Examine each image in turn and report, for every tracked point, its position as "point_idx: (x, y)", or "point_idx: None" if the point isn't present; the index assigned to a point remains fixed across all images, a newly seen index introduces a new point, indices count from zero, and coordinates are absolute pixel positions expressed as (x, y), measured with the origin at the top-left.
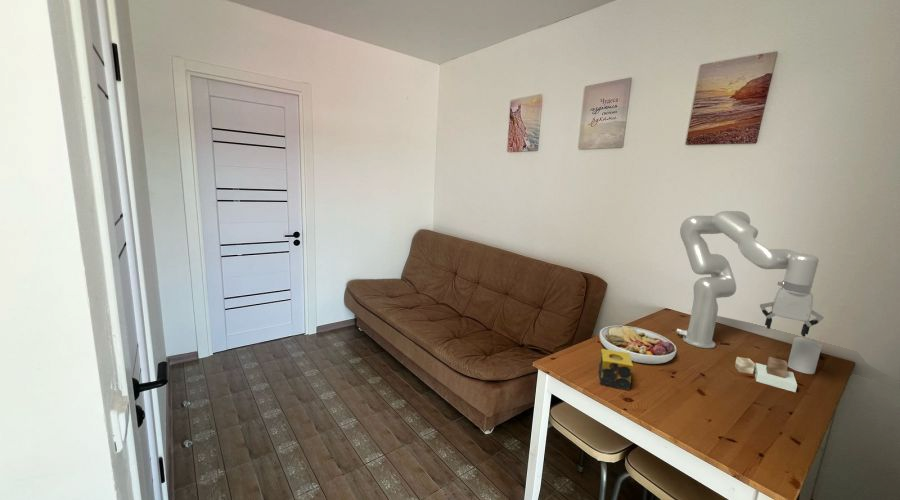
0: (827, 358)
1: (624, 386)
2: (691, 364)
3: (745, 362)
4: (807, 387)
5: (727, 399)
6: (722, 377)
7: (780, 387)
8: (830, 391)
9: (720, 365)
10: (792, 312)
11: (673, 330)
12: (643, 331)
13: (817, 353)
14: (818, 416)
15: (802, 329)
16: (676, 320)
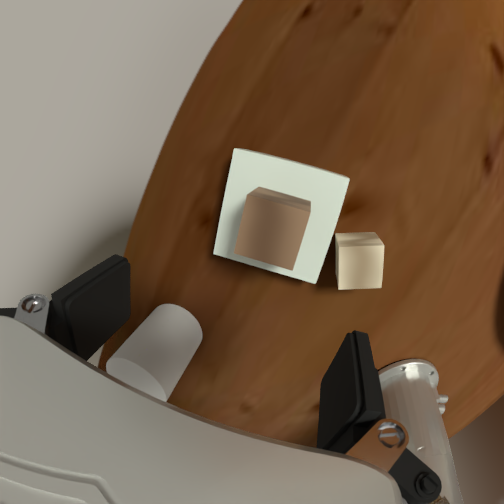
0: None
1: None
2: (494, 225)
3: (371, 246)
4: (193, 207)
5: (449, 32)
6: (443, 162)
7: (279, 157)
8: (144, 212)
9: (417, 257)
10: (73, 491)
11: None
12: None
13: (125, 342)
14: (235, 28)
15: (106, 324)
16: None
